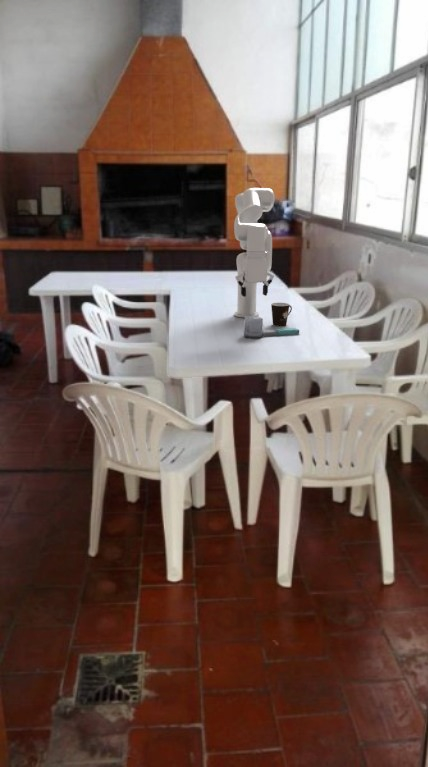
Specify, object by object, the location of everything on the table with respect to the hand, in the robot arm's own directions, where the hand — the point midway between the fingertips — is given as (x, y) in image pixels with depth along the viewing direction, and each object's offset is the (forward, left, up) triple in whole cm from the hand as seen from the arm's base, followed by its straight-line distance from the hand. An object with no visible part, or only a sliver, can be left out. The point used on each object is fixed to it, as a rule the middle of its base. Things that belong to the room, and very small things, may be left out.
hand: (254, 295), depth 252 cm
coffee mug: (-18, +22, -18) cm, 34 cm away
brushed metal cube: (0, 0, -16) cm, 16 cm away
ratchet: (0, +9, -18) cm, 20 cm away
